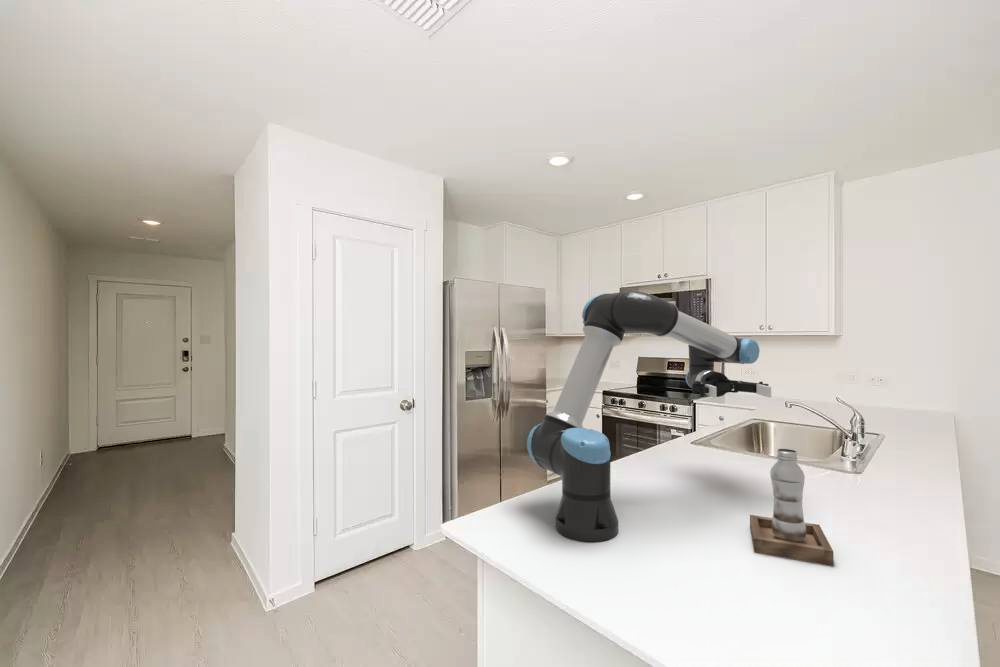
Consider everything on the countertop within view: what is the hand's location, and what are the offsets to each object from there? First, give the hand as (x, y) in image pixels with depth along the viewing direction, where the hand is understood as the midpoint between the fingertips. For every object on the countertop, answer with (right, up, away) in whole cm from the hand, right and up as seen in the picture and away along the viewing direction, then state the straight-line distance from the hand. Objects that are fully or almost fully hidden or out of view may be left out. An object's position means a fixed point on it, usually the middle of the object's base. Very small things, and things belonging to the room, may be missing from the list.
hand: (742, 392), depth 117 cm
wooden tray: (+1, -32, -17) cm, 36 cm away
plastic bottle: (+1, -31, -17) cm, 35 cm away
